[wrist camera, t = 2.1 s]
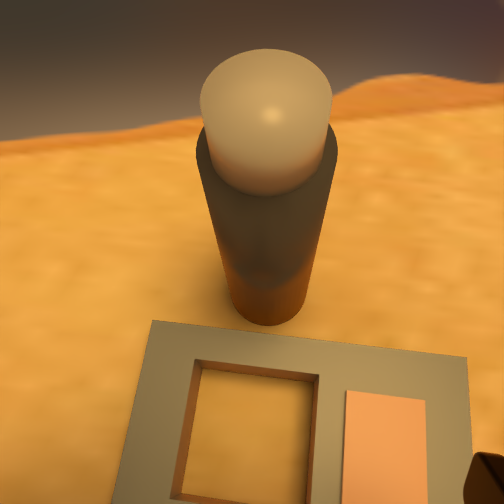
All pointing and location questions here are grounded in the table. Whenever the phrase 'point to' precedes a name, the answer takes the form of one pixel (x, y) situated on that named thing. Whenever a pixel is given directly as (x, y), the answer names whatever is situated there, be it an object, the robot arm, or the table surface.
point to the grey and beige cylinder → (267, 176)
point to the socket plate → (323, 416)
